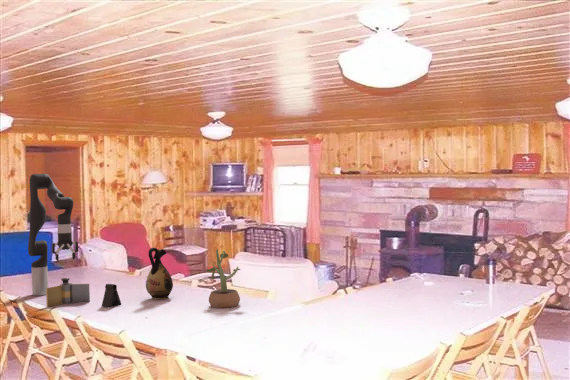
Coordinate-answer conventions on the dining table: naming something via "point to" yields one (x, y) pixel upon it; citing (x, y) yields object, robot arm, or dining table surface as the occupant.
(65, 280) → the hinge pin
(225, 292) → the potted plant
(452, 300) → the dining table surface
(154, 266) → the ceramic jug
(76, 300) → the hinge
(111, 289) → the phone stand
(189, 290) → the dining table surface
